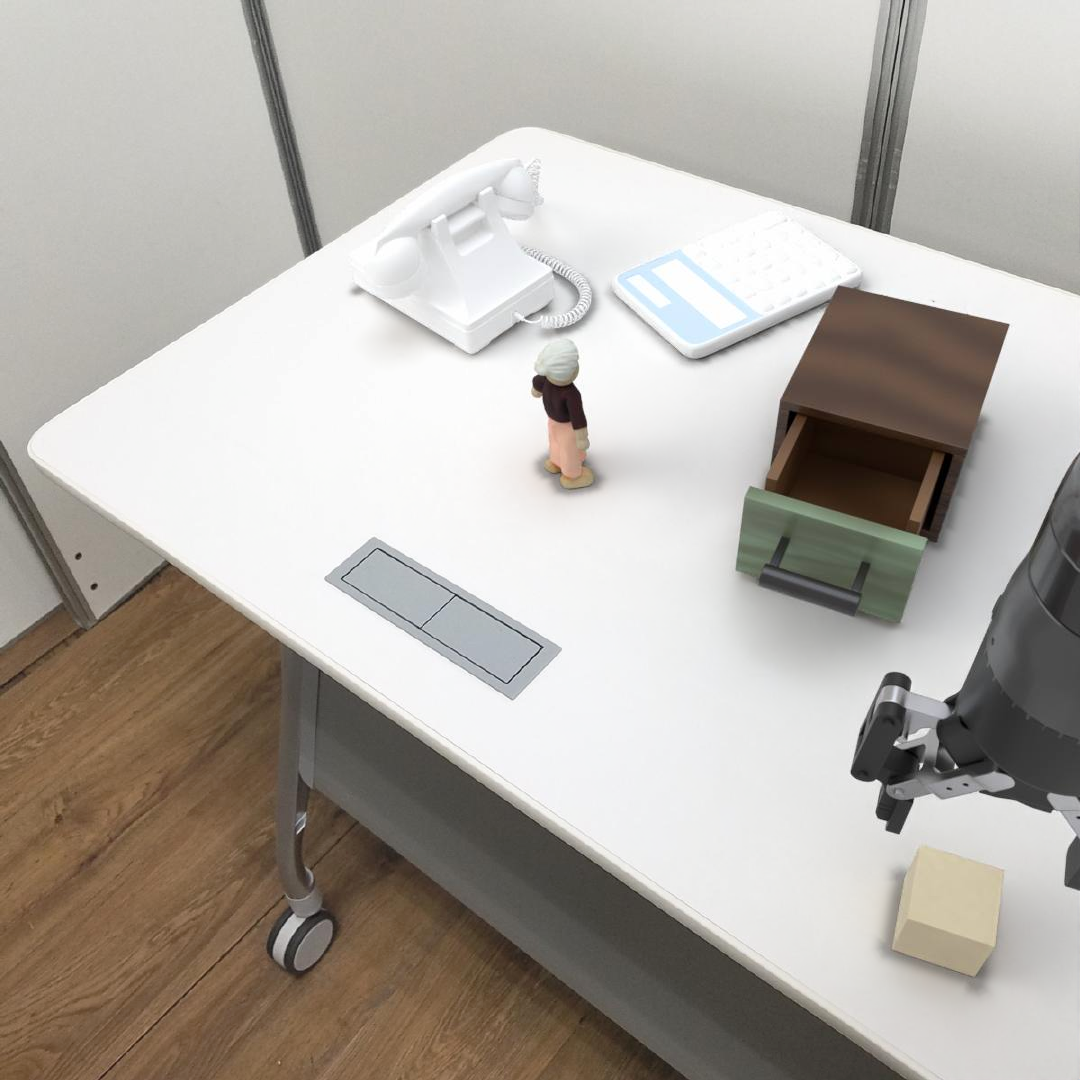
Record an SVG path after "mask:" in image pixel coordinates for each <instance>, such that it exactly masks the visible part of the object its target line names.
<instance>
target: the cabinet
mask: <svg viewBox="0 0 1080 1080" xmlns="http://www.w3.org/2000/svg"><path fill="white" fill-rule="evenodd" d="M1009 328H1010V323H1007V322H1003V321H998V320H994V319H990V318H986V317H981V316H976V315H973V314H967V313H963V312H958V311H954V310H950V309H945V308H940V307H937V306H933V305H929V304H924V303H919V302H915V301H911V300H906V299H901V298H897V297H892V296H888V295H884V294H880V293H875V292H870V291H867V290H861V289H858V288H854V289H853V288H849V287H844V286H840V285H838V286H837V288H836V290H835V292H834V294H833V296H832V298H831V300H829V302H828V304H827V306H826V308H825V310H824V312H823V314H822V315H821V318H820V320H819V322H818V323H817V326H816V328H815V330H814V331H813V334H812V336H811V338H810V340H809V342H808V344H807V345H806V348H805V350H804V352H803V353H802V356H801V358H800V359H799V361H798V363H797V366H796V368H795V369H794V371H793V373H792V376H791V377H790V379H789V381H788V383H787V385H786V387H785V389H784V391H783V393H782V395H781V397H780V399H779V405H778V410H777V411H778V413H777V418H776V425H775V433H774V439H773V440H774V441H773V446H772V453H771V460H770V466H769V469H770V468H771V466H772V464H773V462H774V460H775V458H776V456H777V454H778V452H779V450H780V448H781V446H782V444H783V442H784V439H785V437H786V435H787V433H788V431H789V429H790V427H791V425H792V423H793V421H794V419H795V417H796V415H797V413H801V414H805V415H809V416H813V417H816V418H820V419H824V420H827V421H831V422H835V423H839V424H842V425H846V426H850V427H854V428H857V429H861V430H865V431H868V432H872V433H876V434H880V435H883V436H887V437H891V438H894V439H898V440H902V441H906V442H909V443H913V444H917V445H920V446H924V447H928V448H932V449H935V450H939V451H943V452H947V455H946V458H945V461H944V464H943V468H942V471H941V474H940V477H939V480H938V483H937V487H936V490H935V492H934V495H933V498H932V501H931V504H930V507H929V510H928V512H927V515H926V518H925V521H924V524H923V527H922V530H921V532H920V535H919V536H922V537H925V538H927V541H932V542H936V543H937V542H938V541H939V537H940V535H941V532H942V529H943V526H944V523H945V519H946V516H947V514H948V511H949V508H950V505H951V502H952V499H953V496H954V493H955V491H956V488H957V484H958V482H959V481H958V480H959V478H960V476H961V472H962V469H963V466H964V463H965V460H966V457H967V453H968V451H969V448H970V445H971V442H972V439H973V436H974V433H975V431H976V430H975V429H976V427H977V423H978V422H979V418H980V414H981V413H982V409H983V406H984V403H985V399H986V398H987V394H988V391H989V388H990V386H991V382H992V379H993V376H994V373H995V370H996V367H997V364H998V361H999V358H1000V354H1001V352H1002V349H1003V346H1004V343H1005V340H1006V336H1007V334H1008V331H1009Z"/></svg>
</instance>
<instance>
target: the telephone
mask: <svg viewBox="0 0 1080 1080" xmlns="http://www.w3.org/2000/svg"><path fill="white" fill-rule="evenodd" d="M534 163H539V164H542V160H541V159H539V158H537V157H533V158H531V159H530V160H529V161H527V163H525V164H523V162H522V161H521V159H520V158H519V157H510V158H509V157H508V158H503V159H497V160H493V161H489V162H486V163H483V164H480V165H476V166H474V167H471V168H468V169H465V170H463V171H461V172H458V173H456V174H453V175H451V176H450V177H448V178H446V179H444V180H442V181H440V182H438V183H437V184H436V185H434V186H432V187H431V188H429V189H428V190H427V191H425V192H423V193H422V194H421V195H420V196H418V197H417V198H416V199H415V200H413V201H412V202H411V203H409V204H407V205H405V206H404V209H403V210H402V211H401V212H400V213H399V214H398V215H397V216H396V217H395V218H394V219H393V220H392V221H391V222H390V223H389V225H387V226H385V227H384V228H383V229H382V232H381V233H380V234H379V235H377V236H376V237H374V238H373V239H371V240H370V241H368V242H366V243H364V244H363V245H361V246H359V247H358V248H356V249H354V250H352V251H351V252H349V253H348V258H349V262H348V263H349V268H350V273H351V277H352V281H353V283H354V284H356V285H357V286H359V287H360V289H362V290H364V291H365V292H367V293H368V294H370V295H372V296H374V297H377V298H378V299H380V300H382V301H384V302H385V303H386V304H388V305H390V306H391V307H393V308H395V309H396V310H398V311H400V312H401V313H403V314H404V315H406V316H407V317H409V318H411V319H412V320H415V322H418V323H419V324H421V325H422V326H424V327H426V328H428V329H429V330H430V331H432V332H434V333H435V334H437V335H439V336H440V337H442V338H444V339H445V340H447V341H449V342H450V343H452V344H453V345H454V346H455V347H456V348H459V349H460V350H462V351H464V352H465V353H467V354H469V355H475V354H477V353H478V352H479V351H481V350H483V349H484V348H485V347H487V346H488V345H490V344H491V342H492V340H494V339H495V338H497V337H498V336H500V335H501V334H502V333H504V332H506V331H507V330H509V329H510V328H512V327H514V324H517V323H520V322H525V323H528V324H538V323H540V322H541V327H542V328H543V329H560V328H565V327H568V326H571V325H573V324H575V323H576V322H579V321H580V320H581V319H582V318H583V317H584V316H585V315H586V314H587V313H588V311H589V308H590V307H591V304H592V299H593V293H592V289H591V286H590V284H589V282H588V281H587V279H586V278H585V277H584V276H583V275H582V274H581V273H580V272H578V271H577V270H576V269H574V268H573V267H571V266H570V265H568V264H566V263H565V262H562V261H561V260H558V259H557V258H555V257H553V256H550V255H549V254H547V253H545V252H542V251H540V250H537V249H534V248H531V247H529V246H524V245H521V244H520V243H519V244H518V242H517V240H516V239H515V238H514V236H513V235H512V233H511V232H510V230H509V228H508V226H507V224H506V222H505V220H504V219H507V220H512V221H519V222H523V221H527V220H529V219H531V218H532V217H533V216H534V211H535V206H537V207H538V206H542V205H543V204H544V201H545V198H544V195H542V194H541V193H540V192H539V180H540V173H541V172H540V170H541V165H539V164H534ZM532 168H533V169H532ZM553 272H555V273H556V274H558V275H560V276H562V277H563V278H565V279H566V280H568V281H569V282H570V283H571V284H573V285H574V286H575V287H576V289H577V290H578V293H579V300H578V302H577V304H576V305H575V306H574V308H572V310H570V311H568V312H566V313H563V314H557V315H549V316H548V315H545V317H544V316H543V315H540V319H538V320H535V321H531V320H529V319H526V317H528V316H529V315H533V314H535V313H537V312H538V311H540V310H541V309H543V308H544V307H546V306H548V305H549V304H550V301H551V300H553V299H554V298H555V297H556V293H555V276H554V274H553ZM573 316H574V317H573Z"/></svg>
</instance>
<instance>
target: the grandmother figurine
mask: <svg viewBox="0 0 1080 1080" xmlns="http://www.w3.org/2000/svg"><path fill="white" fill-rule="evenodd" d="M579 359H580V355H579V350H578V347H577V345H576V344H575V343H574V341H573V340H572V339H570V338H566V337H562V338H558V339H554V340H551V341H549V343H548V344H547V345H545V346H544V347H543V348H542V350H541V351H540V352H539V354H538V355H537V359H536V361H535V362H534V365H533V370H534V371H535V372H536V375H534V376H533V377H532V380H531V382H532V383H531V384H532V386H531V390H530V394H531V395H532V397H533V398H534V399H535V398H536V399H539V398H542V399H541V400H542V404H543V409H544V411H545V413H546V415H547V418H548V419H547V428H548V429H547V430H548V435H547V436H548V453H549V457H548V459H546V460H545V462H544V464H543V465H544V468H545V470H546V471H547V472H549V473H550V474H557V473H562V475H561V476H560V478H559V483H560V485H561V486H562V487H563V488H564V489H569V490H571V489H578V488H585V487H588V486H591V485H592V484H593V483H594V481H595V474H594V472H593V470H592V469H590V468H589V467H587V466H583V462H584V461H585V460H586V458H587V450H589V448H590V446H591V442H590V439H589V432H588V431H589V430H588V420H587V416H586V414H585V410H584V403H583V398H582V394H581V393H582V392H580V390H579V389H578V388H577V386H576V385H575V383H574V381H575V380H576V379H577V378H578V376H579V373H580V364H579Z"/></svg>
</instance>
